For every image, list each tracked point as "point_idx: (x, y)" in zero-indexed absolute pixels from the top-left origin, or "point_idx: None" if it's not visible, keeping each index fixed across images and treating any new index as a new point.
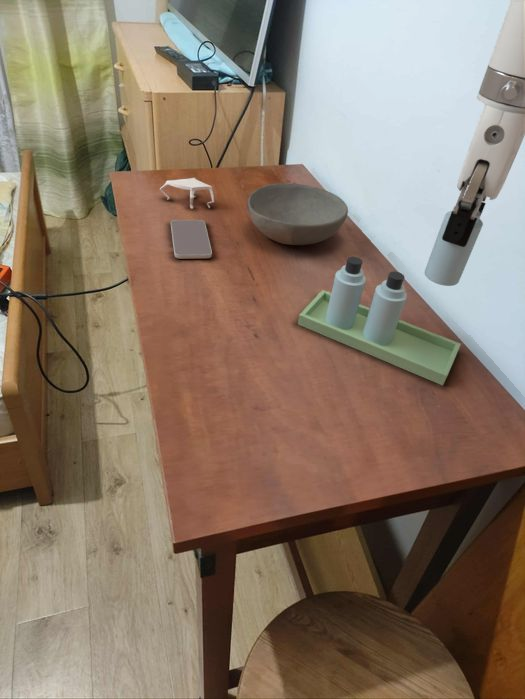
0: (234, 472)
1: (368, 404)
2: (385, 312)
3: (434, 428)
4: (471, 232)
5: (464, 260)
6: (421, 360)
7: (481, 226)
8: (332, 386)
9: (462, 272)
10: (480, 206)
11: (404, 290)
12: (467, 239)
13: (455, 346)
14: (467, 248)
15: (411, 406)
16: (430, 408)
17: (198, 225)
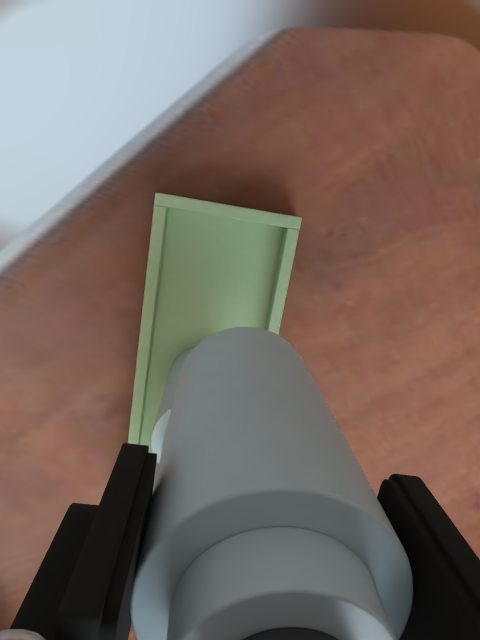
0: None
1: (408, 349)
2: None
3: (429, 221)
4: (447, 538)
5: (309, 387)
6: (241, 274)
7: (327, 493)
8: (385, 417)
9: (269, 344)
10: (120, 618)
11: (166, 413)
12: (436, 509)
13: (175, 206)
14: (338, 433)
15: (384, 272)
16: (376, 235)
17: None
